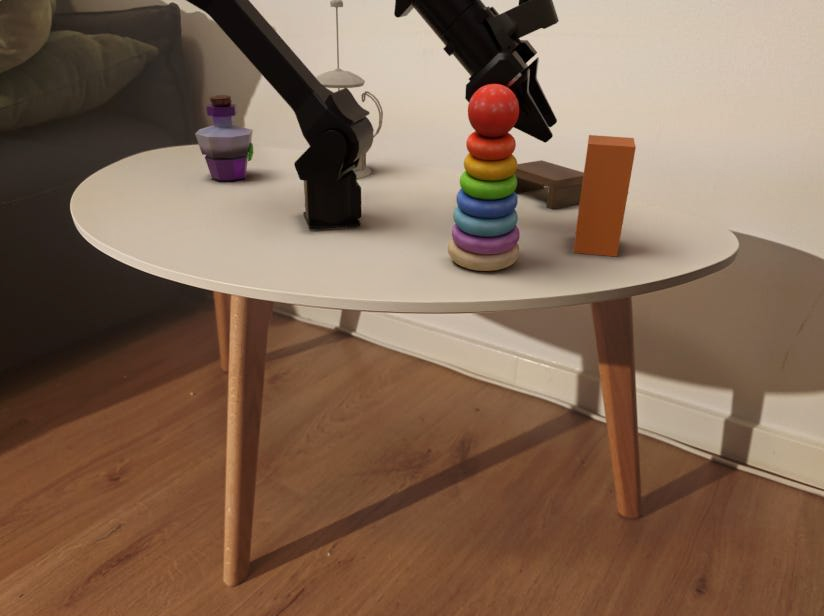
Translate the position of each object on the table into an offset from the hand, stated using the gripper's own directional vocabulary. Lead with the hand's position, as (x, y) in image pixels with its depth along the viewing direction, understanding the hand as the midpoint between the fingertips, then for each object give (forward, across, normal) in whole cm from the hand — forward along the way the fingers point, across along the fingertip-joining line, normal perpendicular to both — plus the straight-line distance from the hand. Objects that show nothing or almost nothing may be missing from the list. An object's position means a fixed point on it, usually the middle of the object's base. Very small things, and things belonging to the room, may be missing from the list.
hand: (551, 131), depth 79 cm
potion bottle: (-26, +17, +44) cm, 53 cm away
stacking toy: (+5, -8, +13) cm, 16 cm away
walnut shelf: (+9, +20, +10) cm, 24 cm away
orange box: (+14, 0, +5) cm, 15 cm away
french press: (-14, +26, +32) cm, 44 cm away
